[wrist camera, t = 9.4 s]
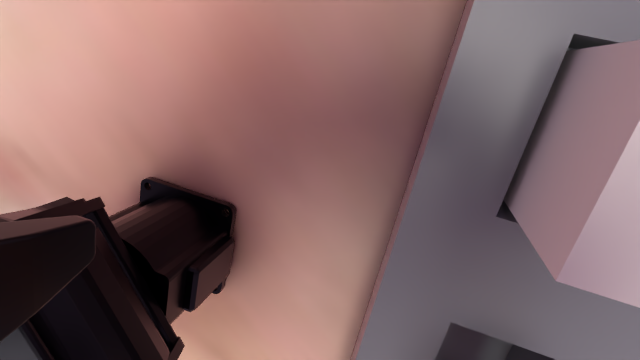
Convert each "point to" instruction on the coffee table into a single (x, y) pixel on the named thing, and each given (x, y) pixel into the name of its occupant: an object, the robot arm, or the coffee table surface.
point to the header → (492, 204)
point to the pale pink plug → (586, 174)
